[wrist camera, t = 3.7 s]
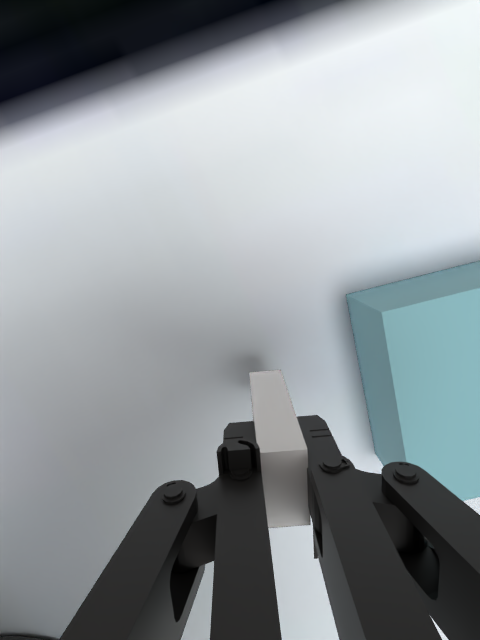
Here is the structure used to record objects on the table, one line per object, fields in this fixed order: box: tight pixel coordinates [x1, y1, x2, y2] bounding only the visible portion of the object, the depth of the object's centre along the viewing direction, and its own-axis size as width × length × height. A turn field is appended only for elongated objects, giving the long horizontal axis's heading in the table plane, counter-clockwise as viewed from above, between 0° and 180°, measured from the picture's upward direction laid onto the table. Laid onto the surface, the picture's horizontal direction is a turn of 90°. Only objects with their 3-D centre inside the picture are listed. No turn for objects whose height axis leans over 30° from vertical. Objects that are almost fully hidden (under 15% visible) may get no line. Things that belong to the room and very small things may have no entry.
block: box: [346, 261, 480, 501], centre depth 19 cm, size 8×10×5 cm
